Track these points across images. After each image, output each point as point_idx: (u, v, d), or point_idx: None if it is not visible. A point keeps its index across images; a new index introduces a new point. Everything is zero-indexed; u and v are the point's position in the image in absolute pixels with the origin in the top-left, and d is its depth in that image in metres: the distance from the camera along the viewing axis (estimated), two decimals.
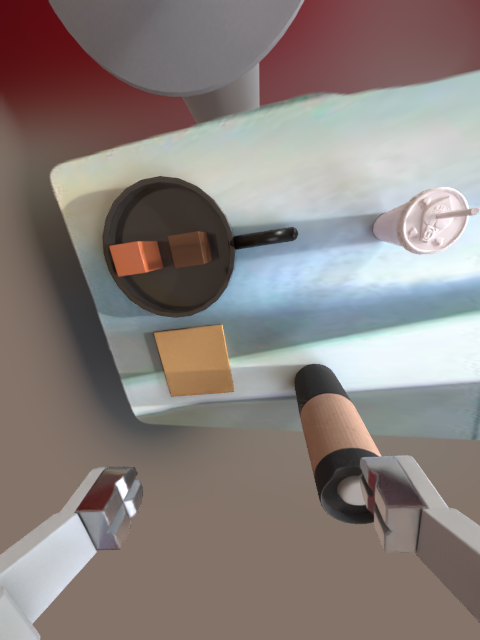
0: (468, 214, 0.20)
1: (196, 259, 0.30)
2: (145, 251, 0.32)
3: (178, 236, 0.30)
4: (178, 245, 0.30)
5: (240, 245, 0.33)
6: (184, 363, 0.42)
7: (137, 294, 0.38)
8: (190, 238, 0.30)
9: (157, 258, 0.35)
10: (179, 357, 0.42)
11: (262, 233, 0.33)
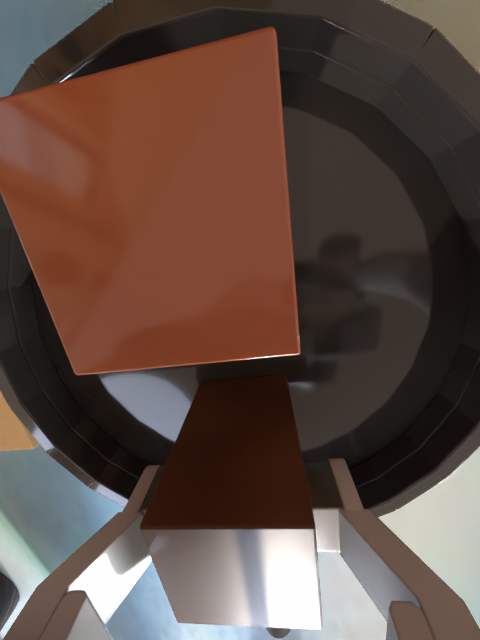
0: None
1: (194, 606, 0.06)
2: None
3: (308, 568, 0.05)
4: (259, 561, 0.05)
5: None
6: None
7: None
8: (293, 604, 0.06)
9: None
10: None
11: None
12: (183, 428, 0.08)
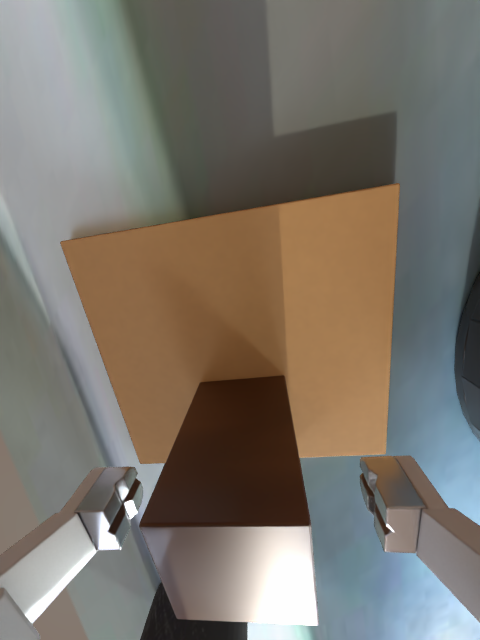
0: None
1: (193, 602, 0.06)
2: None
3: (304, 565, 0.06)
4: (256, 559, 0.06)
5: None
6: (235, 317, 0.10)
7: None
8: (289, 600, 0.06)
9: None
10: (264, 298, 0.10)
11: None
12: (182, 428, 0.08)
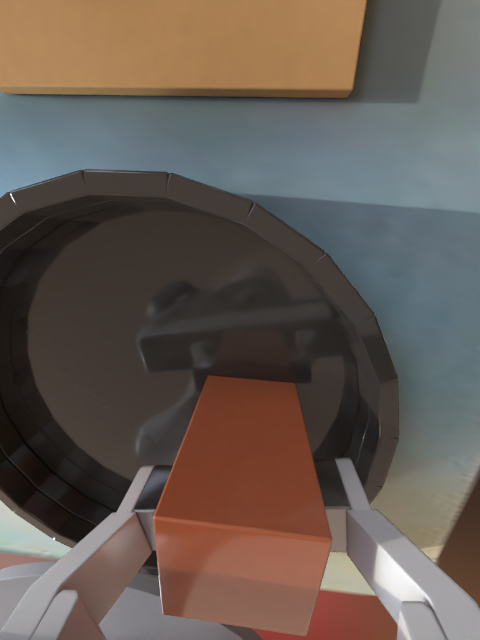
0: None
1: None
2: None
3: None
4: None
5: None
6: None
7: (340, 313, 0.09)
8: None
9: None
10: None
11: None
12: None
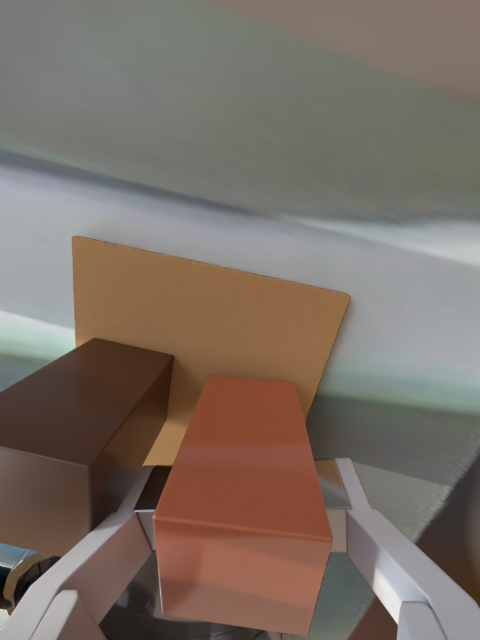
0: None
1: None
2: None
3: (44, 549, 0.07)
4: (49, 528, 0.07)
5: None
6: None
7: None
8: None
9: None
10: None
11: None
12: (146, 394, 0.09)
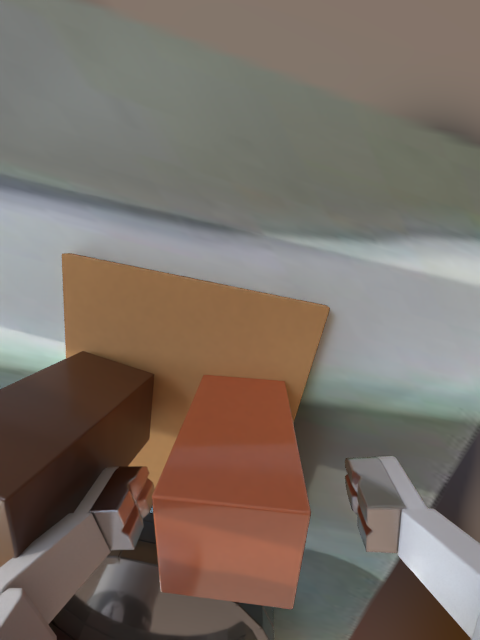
0: None
1: None
2: None
3: None
4: None
5: None
6: None
7: None
8: None
9: None
10: None
11: None
12: (106, 417, 0.08)
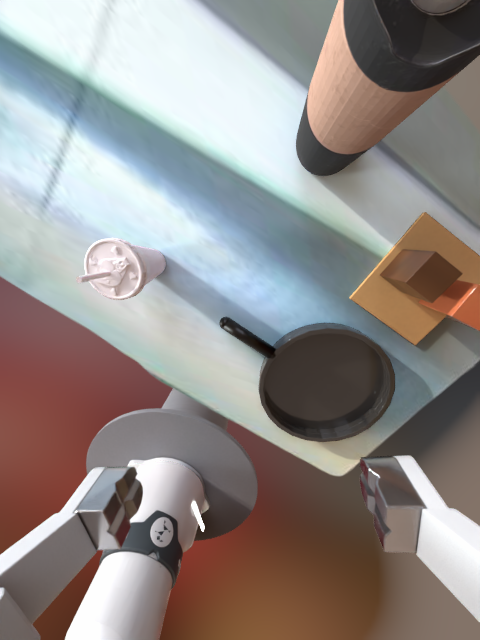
0: (85, 278, 0.21)
1: (436, 262, 0.25)
2: (450, 302, 0.27)
3: (424, 294, 0.26)
4: (434, 287, 0.26)
5: (268, 349, 0.34)
6: None
7: (384, 384, 0.36)
8: (418, 283, 0.26)
9: None
10: None
11: (245, 343, 0.34)
12: None
